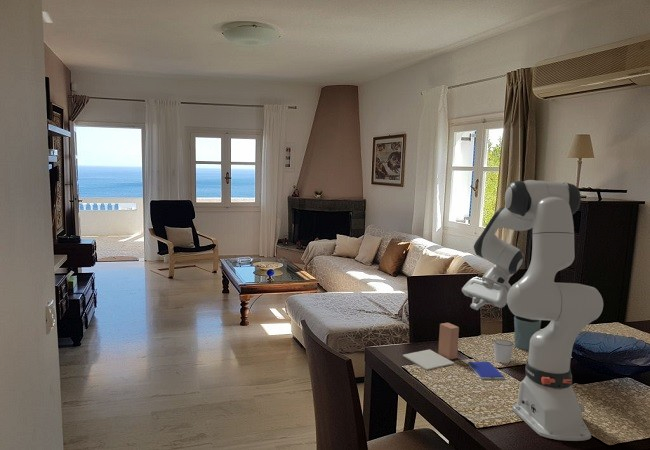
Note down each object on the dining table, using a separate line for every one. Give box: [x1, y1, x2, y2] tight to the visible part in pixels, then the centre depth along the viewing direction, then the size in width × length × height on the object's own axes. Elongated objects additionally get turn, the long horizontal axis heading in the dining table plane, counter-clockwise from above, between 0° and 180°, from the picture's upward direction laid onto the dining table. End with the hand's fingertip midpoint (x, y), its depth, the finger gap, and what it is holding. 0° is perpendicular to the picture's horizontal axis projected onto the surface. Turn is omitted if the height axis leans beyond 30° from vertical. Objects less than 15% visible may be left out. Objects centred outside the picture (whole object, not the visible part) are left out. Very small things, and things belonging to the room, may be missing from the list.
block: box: [437, 322, 460, 361], centre depth 180 cm, size 6×4×12 cm, turn 28°
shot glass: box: [493, 339, 515, 364], centre depth 178 cm, size 7×7×7 cm
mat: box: [402, 349, 456, 371], centre depth 177 cm, size 14×13×1 cm
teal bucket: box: [513, 315, 542, 352], centre depth 192 cm, size 10×10×12 cm
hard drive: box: [467, 361, 505, 380], centre depth 168 cm, size 2×8×12 cm
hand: (473, 308), depth 184 cm, fingers closed
